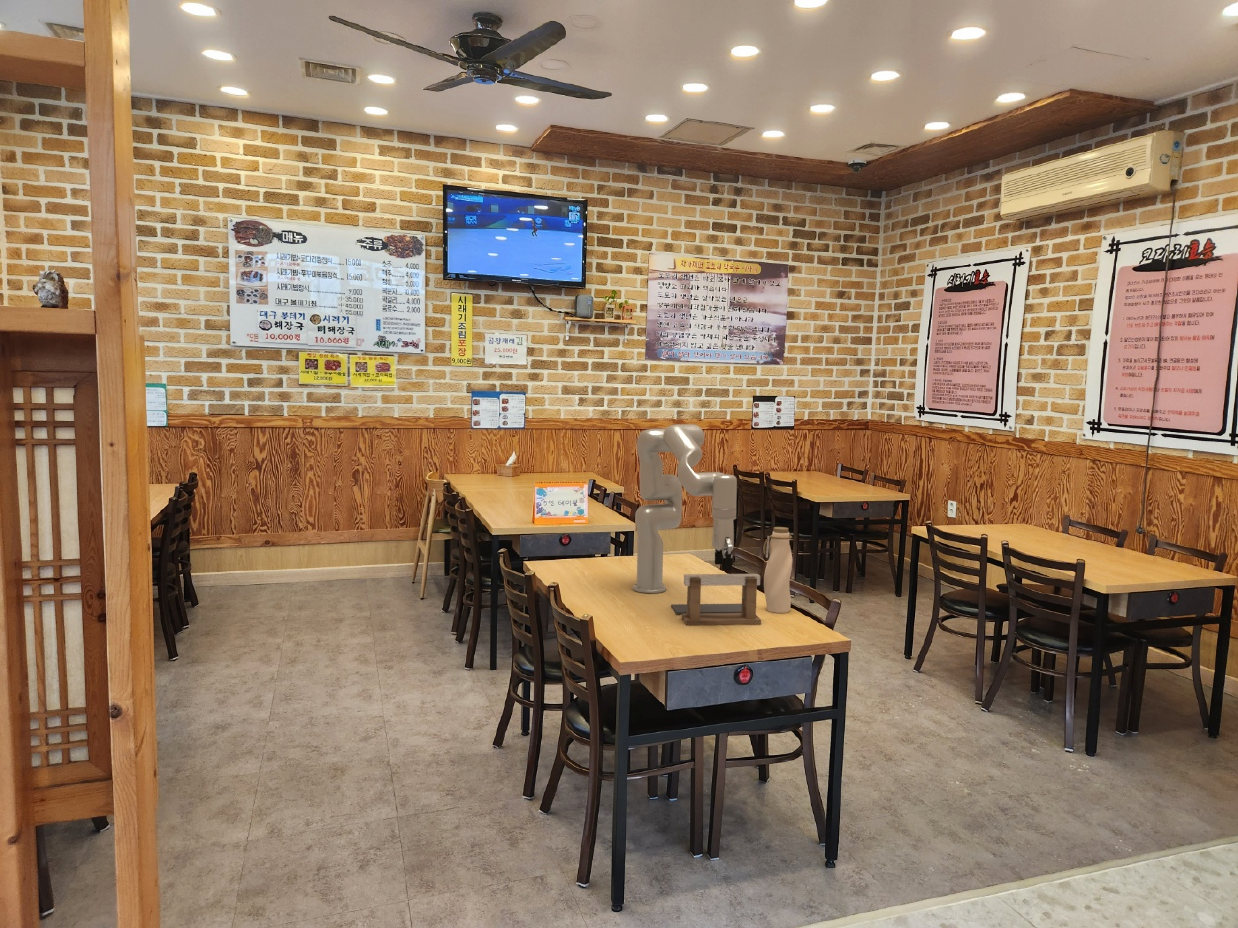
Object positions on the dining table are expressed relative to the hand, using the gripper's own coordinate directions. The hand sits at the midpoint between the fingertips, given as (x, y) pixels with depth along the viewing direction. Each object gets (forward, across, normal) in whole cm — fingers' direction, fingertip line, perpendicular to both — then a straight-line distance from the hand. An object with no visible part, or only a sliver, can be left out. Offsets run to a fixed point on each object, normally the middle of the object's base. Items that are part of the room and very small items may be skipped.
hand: (723, 567), depth 251 cm
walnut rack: (+18, -1, 0) cm, 18 cm away
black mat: (+17, -14, 0) cm, 22 cm away
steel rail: (+6, 0, 0) cm, 6 cm away
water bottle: (+18, -13, +22) cm, 31 cm away
